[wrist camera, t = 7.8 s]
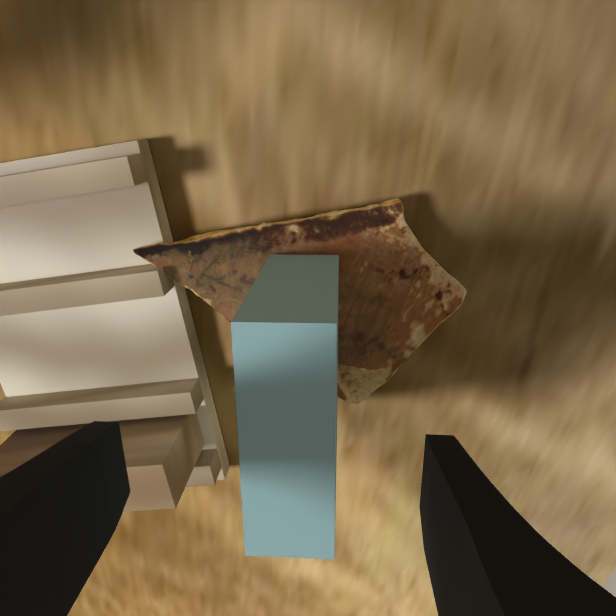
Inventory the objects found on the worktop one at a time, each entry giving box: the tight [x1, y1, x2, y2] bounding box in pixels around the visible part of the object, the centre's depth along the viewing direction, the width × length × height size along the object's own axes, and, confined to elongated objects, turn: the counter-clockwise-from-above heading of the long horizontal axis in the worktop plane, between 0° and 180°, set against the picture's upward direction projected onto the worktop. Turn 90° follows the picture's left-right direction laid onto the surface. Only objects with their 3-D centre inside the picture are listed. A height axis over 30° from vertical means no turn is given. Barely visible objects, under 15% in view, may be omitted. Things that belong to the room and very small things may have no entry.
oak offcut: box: [109, 414, 204, 512], centre depth 21 cm, size 2×4×4 cm, turn 99°
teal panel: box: [231, 255, 339, 559], centre depth 17 cm, size 2×7×7 cm, turn 1°
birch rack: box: [0, 139, 230, 487], centre depth 22 cm, size 15×9×2 cm, turn 9°
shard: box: [133, 198, 467, 404], centre depth 20 cm, size 11×8×2 cm
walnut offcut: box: [0, 423, 90, 477], centre depth 22 cm, size 2×4×4 cm, turn 99°
